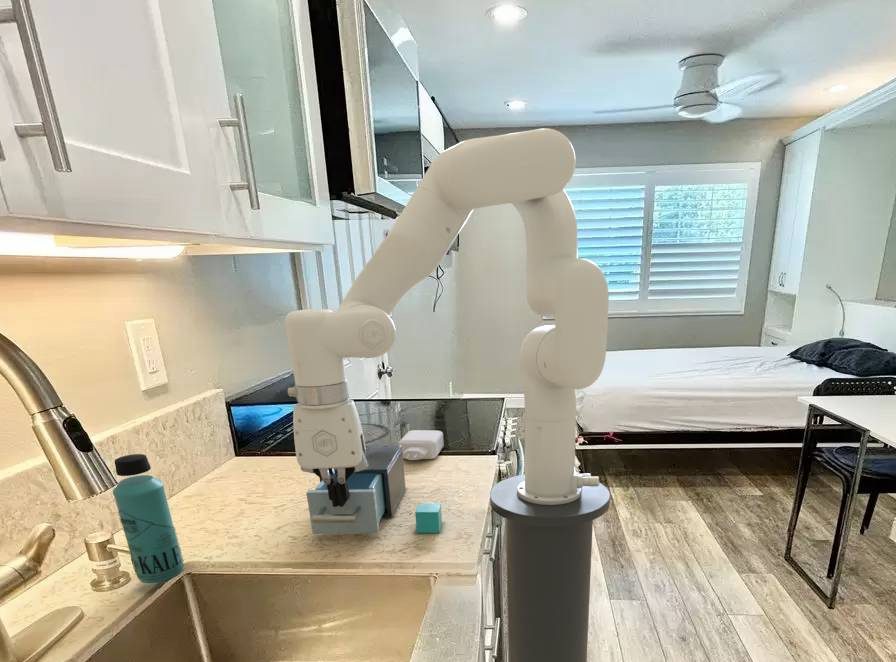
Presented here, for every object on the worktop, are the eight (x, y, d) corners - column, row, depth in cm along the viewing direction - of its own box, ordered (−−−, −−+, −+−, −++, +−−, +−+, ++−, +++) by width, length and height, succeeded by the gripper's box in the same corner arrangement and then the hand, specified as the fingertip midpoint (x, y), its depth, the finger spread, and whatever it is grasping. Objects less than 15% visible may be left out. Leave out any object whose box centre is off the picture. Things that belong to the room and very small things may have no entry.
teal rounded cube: (442, 523, 103) (440, 502, 102) (439, 532, 100) (438, 512, 98) (420, 523, 104) (418, 503, 102) (416, 533, 100) (415, 512, 98)
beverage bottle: (158, 570, 90) (124, 449, 82) (197, 571, 89) (166, 449, 81) (128, 592, 84) (89, 463, 76) (170, 594, 83) (135, 464, 75)
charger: (392, 467, 133) (408, 447, 146) (430, 468, 132) (444, 448, 145) (390, 448, 131) (407, 430, 145) (429, 448, 130) (442, 430, 144)
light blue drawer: (371, 547, 93) (366, 503, 91) (303, 547, 94) (295, 504, 91) (393, 503, 110) (389, 465, 108) (335, 503, 111) (330, 465, 108)
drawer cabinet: (392, 517, 106) (387, 469, 103) (325, 518, 107) (318, 470, 103) (405, 488, 120) (401, 445, 116) (346, 489, 120) (340, 446, 117)
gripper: (265, 401, 84) (287, 514, 91) (365, 397, 84) (380, 511, 91) (284, 390, 91) (303, 496, 98) (376, 387, 90) (389, 493, 97)
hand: (340, 503), depth 94 cm, fingers closed
